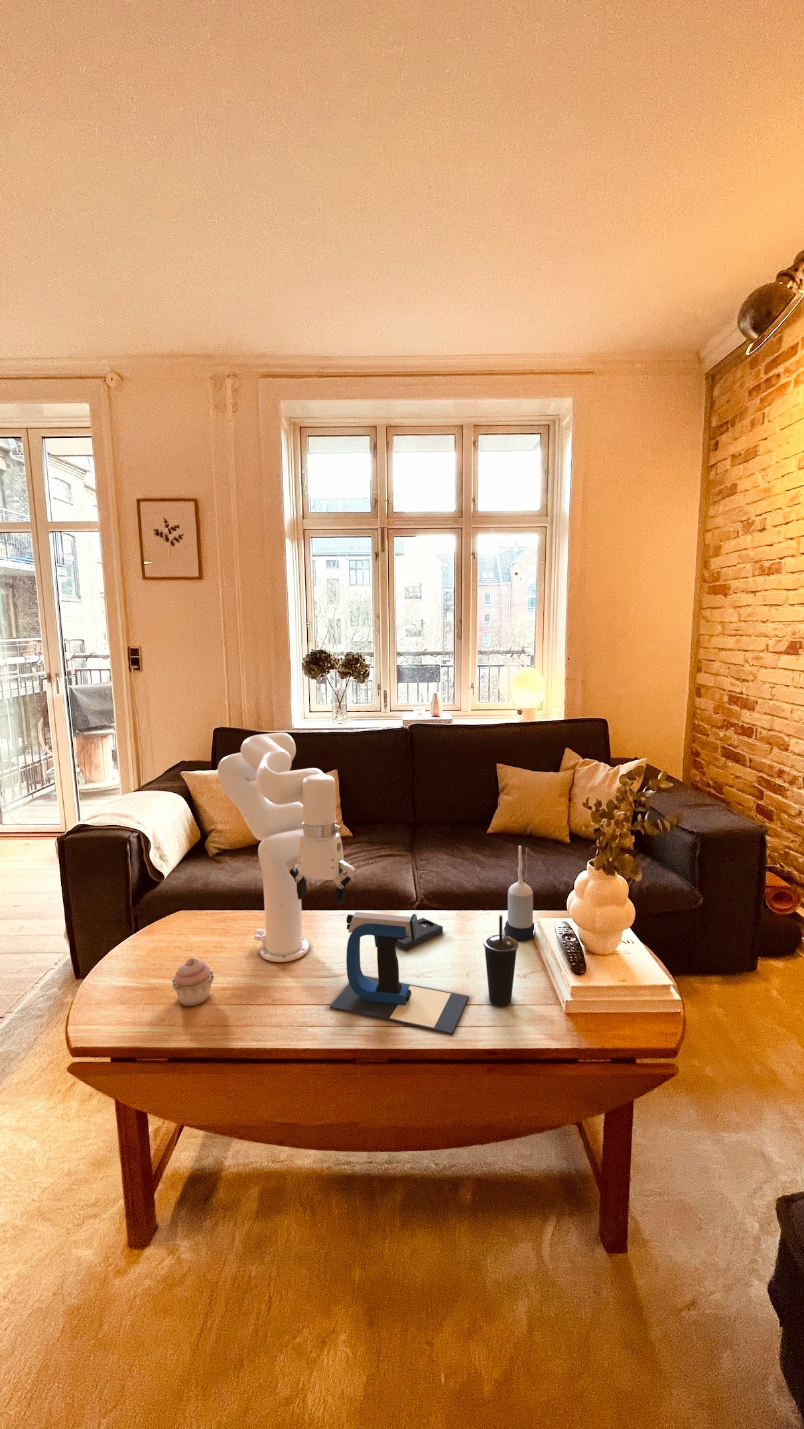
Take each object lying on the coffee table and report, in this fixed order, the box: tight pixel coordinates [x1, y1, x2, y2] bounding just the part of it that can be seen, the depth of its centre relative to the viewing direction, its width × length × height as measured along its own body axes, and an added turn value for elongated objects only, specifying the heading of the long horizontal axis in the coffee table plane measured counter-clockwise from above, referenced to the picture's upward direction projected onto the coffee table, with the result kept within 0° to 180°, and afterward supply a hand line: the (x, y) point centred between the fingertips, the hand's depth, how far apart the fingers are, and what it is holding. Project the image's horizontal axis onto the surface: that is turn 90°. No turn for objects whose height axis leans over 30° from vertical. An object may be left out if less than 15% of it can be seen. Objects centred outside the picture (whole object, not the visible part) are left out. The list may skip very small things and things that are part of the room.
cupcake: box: [171, 957, 215, 1007], centre depth 137 cm, size 9×9×10 cm
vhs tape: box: [396, 917, 444, 952], centre depth 165 cm, size 14×8×2 cm, turn 133°
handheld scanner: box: [346, 911, 419, 1005], centre depth 135 cm, size 5×16×20 cm, turn 78°
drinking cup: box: [482, 914, 519, 1008], centre depth 134 cm, size 8×8×20 cm
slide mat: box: [329, 975, 470, 1035], centre depth 135 cm, size 28×14×1 cm, turn 70°
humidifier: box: [503, 845, 535, 942], centre depth 165 cm, size 8×8×25 cm
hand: (321, 899), depth 140 cm, fingers open, 9 cm apart
